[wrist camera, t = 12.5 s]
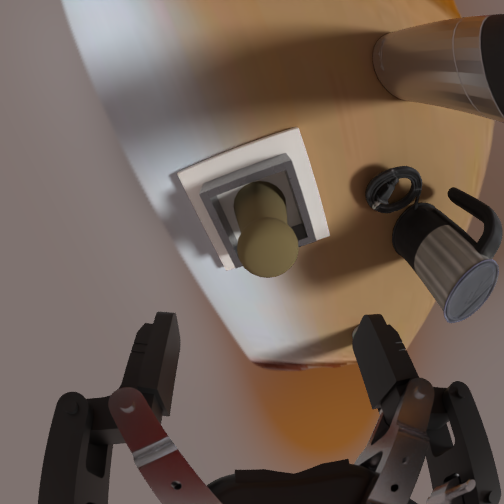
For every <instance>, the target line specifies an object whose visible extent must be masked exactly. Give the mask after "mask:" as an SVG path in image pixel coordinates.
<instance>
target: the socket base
mask: <svg viewBox="0 0 504 504" xmlns="http://www.w3.org/2000/svg"><path fill="white" fill-rule="evenodd" d="M283 153H286V154H287V155H288V156H289V157H290V159H291V160H292V163H293V166H294V169H295V172H296V175H297V178H298V181H299V184H300V187H301V190H302V193H303V197H304V200H305V203H306V206H307V210H308V213H309V216H310V220H311V223H312V227H313V230H314V234H315V237H316V240H319V239H322V238H325V237H328V236H330V234H329V229H328V226H327V222H326V218H325V214H324V210H323V206H322V203H321V199H320V196H319V192H318V188H317V185H316V182H315V178H314V175H313V171H312V168H311V165H310V162H309V158H308V155H307V152H306V149H305V146H304V143H303V140H302V137H301V134H300V131H299V128H298V127H294V128H291V129H287V130H284V131H281V132H278V133H275V134H272V135H269V136H266V137H263V138H261V139H258V140H255V141H252V142H250V143H247V144H244V145H241V146H239V147H236V148H234V149H231V150H228V151H226V152H223V153H221V154H218V155H216V156H213V157H211V158H209V159H206V160H204V161H201V162H199V163H197V164H194V165H192V166H190V167H188V168H185V169H183V170H181V171H179V172H178V174H177V175H178V177H179V179H180V181H181V183H182V185H183V187H184V189H185V191H186V193H187V195H188V197H189V199H190V201H191V203H192V205H193V207H194V209H195V211H196V213H197V215H198V217H199V219H200V221H201V223H202V225H203V227H204V229H205V231H206V232H207V234H208V236H209V238H210V240H211V242H212V244H213V246H214V248H215V250H216V252H217V254H218V256H219V258H220V259H221V261H222V263H223V265H224V267H225V269H226V271H228V270H231V269H234V268H235V266H234V264H233V262H232V260H231V258H230V256H229V254H228V252H227V250H226V248H225V246H224V244H223V242H222V240H221V238H220V236H219V234H218V232H217V230H216V228H215V226H214V224H213V222H212V220H211V218H210V216H209V214H208V212H207V210H206V208H205V206H204V204H203V201H202V199H201V197H200V195H199V193H200V190H201V188H202V185H203V183H206V182H208V181H211V180H213V179H216V178H218V177H221V176H223V175H226V174H228V173H231V172H233V171H236V170H239V169H241V168H244V167H247V166H249V165H252V164H255V163H258V162H260V161H263V160H266V159H269V158H272V157H275V156H278V155H280V154H283ZM256 181H265V182H270V183H272V184H274V185H276V186H277V187H278V188H279V189H280V190H281V191H282V193H283V195H284V197H285V200H286V210H287V223H288V225H289V226H290V227H292V226H295V225H298V224H301V220H300V217H299V213H298V210H297V207H296V204H295V201H294V198H293V195H292V192H291V189H290V186H289V183H288V180H287V177H286V174H285V171H282V172H279V173H276V174H273V175H270V176H267V177H265V178H262V179H259V180H256ZM256 181H254V182H256ZM248 184H249V183H248ZM245 185H247V184H245ZM245 185H243V186H240V187H237V188H235V189H232V190H229V191H227V192H224V193H222V194H219V195H217V198H218V200H219V202H220V204H221V206H222V209H223V211H224V213H225V215H226V217H227V219H228V222H229V224H230V226H231V228H232V230H233V232H234V234H235V237H236V239H237V241H238V238H239V236H240V234H241V232H240V229H239V226H238V222H237V219H236V216H235V212H234V207H233V206H234V199H235V197H236V195H237V193H238V191H239V190H241V189H242V188H243V187H244V186H245Z"/></svg>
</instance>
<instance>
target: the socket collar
mask: <svg viewBox="0 0 504 504" xmlns="http://www.w3.org/2000/svg"><path fill="white" fill-rule="evenodd" d="M282 171H285V174H286V177H287V180H288V183H289V186H290V189H291V192H292V195H293V198H294V201H295V204H296V207H297V210H298V213H299V217H300V220H301V224H298V225H295V226H292V227H291V228H292V229H293V231H294V233H295V235H296V237H297V240H298V247H301V246H303V245H306V244H309V243H312V242H315V241H316V237H315V234H314V230H313V227H312V223H311V220H310V216H309V213H308V210H307V206H306V203H305V200H304V197H303V193H302V190H301V187H300V184H299V181H298V178H297V175H296V172H295V169H294V166H293V163H292V160H291V159H290V157H289V156H288V155H287V154H286V153H283V154H280V155H278V156H275V157H272V158H269V159H266V160H263V161H260V162H258V163H255V164H252V165H249V166H247V167H244V168H241V169H239V170H236V171H233V172H231V173H228V174H226V175H223V176H221V177H218V178H216V179H213V180H211V181H208V182H206V183H203V185H202V188H201V190H200V193H199V195H200V197H201V199H202V201H203V204H204V206H205V208H206V210H207V212H208V214H209V216H210V218H211V220H212V222H213V224H214V226H215V228H216V230H217V232H218V234H219V236H220V238H221V240H222V242H223V244H224V246H225V248H226V250H227V252H228V254H229V256H230V258H231V260H232V262H233V264H234V266H235V268H238V267H241V266H243V265H242V263H241V262H240V260H239V257H238V253H237V244H238V241H237V239H236V237H235V234H234V232H233V230H232V228H231V226H230V224H229V222H228V219H227V217H226V215H225V213H224V211H223V209H222V206H221V204H220V202H219V200H218V198H217V195H219V194H222V193H224V192H227V191H229V190H232V189H235V188H237V187H240V186H243V185H245V184H248V183H251V182H254V181H256V180H259V179H262V178H265V177H267V176H270V175H273V174H276V173H279V172H282Z"/></svg>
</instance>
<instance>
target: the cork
mask: <svg viewBox="0 0 504 504" xmlns="http://www.w3.org/2000/svg"><path fill="white" fill-rule="evenodd" d="M233 207H234V212H235V216H236V219H237V222H238V226H239V229H240V232H241V234H240V236H239V238H238V244H237V253H238V257H239V260H240V262H241V263H242V265H243V266H244V268H245V269H246V270H248V271H249V272H250V273H252V274H254V275H257V276H259V277H266V278H270V277H276V276H279V275H281V274H283V273H285V272H286V271H287V270H288V269H290V268H291V266H292V265H293V264H294V262H295V261H296V258H297V255H298V249H299V248H298V240H297V237H296V235H295V233H294V231H293V229H292V228H291V227H290V226H289V225H288V223H287V210H286V200H285V197H284V195H283V193H282V191H281V190H280V189H279V188H278V187H277V186H276V185H274V184H272V183H270V182H265V181H256V182H251V183H249V184H247V185H245V186H244V187H243V188H242V189H241V190H239V191H238V193H237V195H236V197H235V199H234V206H233Z"/></svg>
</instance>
